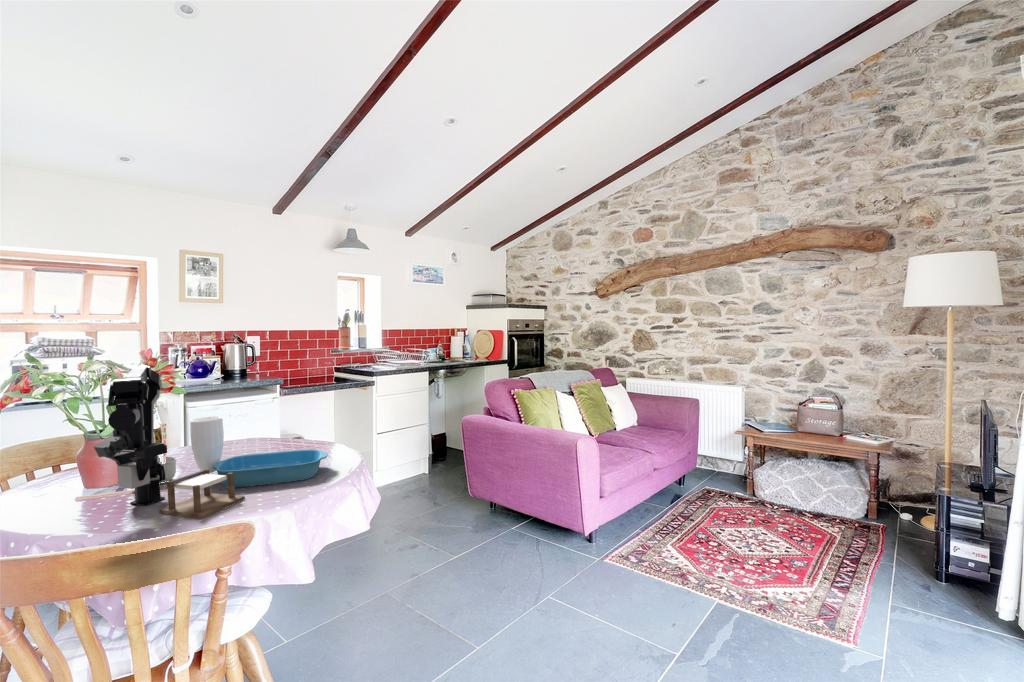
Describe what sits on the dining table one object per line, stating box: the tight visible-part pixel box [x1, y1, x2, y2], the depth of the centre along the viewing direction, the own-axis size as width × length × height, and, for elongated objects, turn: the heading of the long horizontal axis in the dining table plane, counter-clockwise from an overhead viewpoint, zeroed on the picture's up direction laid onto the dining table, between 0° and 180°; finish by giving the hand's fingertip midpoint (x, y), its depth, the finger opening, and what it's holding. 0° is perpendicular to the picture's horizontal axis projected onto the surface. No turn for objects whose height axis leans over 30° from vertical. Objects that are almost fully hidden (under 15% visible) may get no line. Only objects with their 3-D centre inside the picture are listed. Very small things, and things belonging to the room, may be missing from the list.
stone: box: [116, 461, 150, 490], centre depth 138 cm, size 5×5×6 cm
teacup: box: [157, 456, 177, 483], centre depth 172 cm, size 14×11×8 cm
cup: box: [189, 415, 225, 474], centre depth 175 cm, size 10×10×22 cm
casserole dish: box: [212, 448, 329, 488], centre depth 176 cm, size 37×22×7 cm, turn 108°
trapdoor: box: [175, 473, 227, 491], centre depth 149 cm, size 8×10×1 cm
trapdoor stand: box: [158, 469, 246, 519], centre depth 149 cm, size 16×15×9 cm
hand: (134, 479), depth 138 cm, fingers closed on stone, 5 cm apart
